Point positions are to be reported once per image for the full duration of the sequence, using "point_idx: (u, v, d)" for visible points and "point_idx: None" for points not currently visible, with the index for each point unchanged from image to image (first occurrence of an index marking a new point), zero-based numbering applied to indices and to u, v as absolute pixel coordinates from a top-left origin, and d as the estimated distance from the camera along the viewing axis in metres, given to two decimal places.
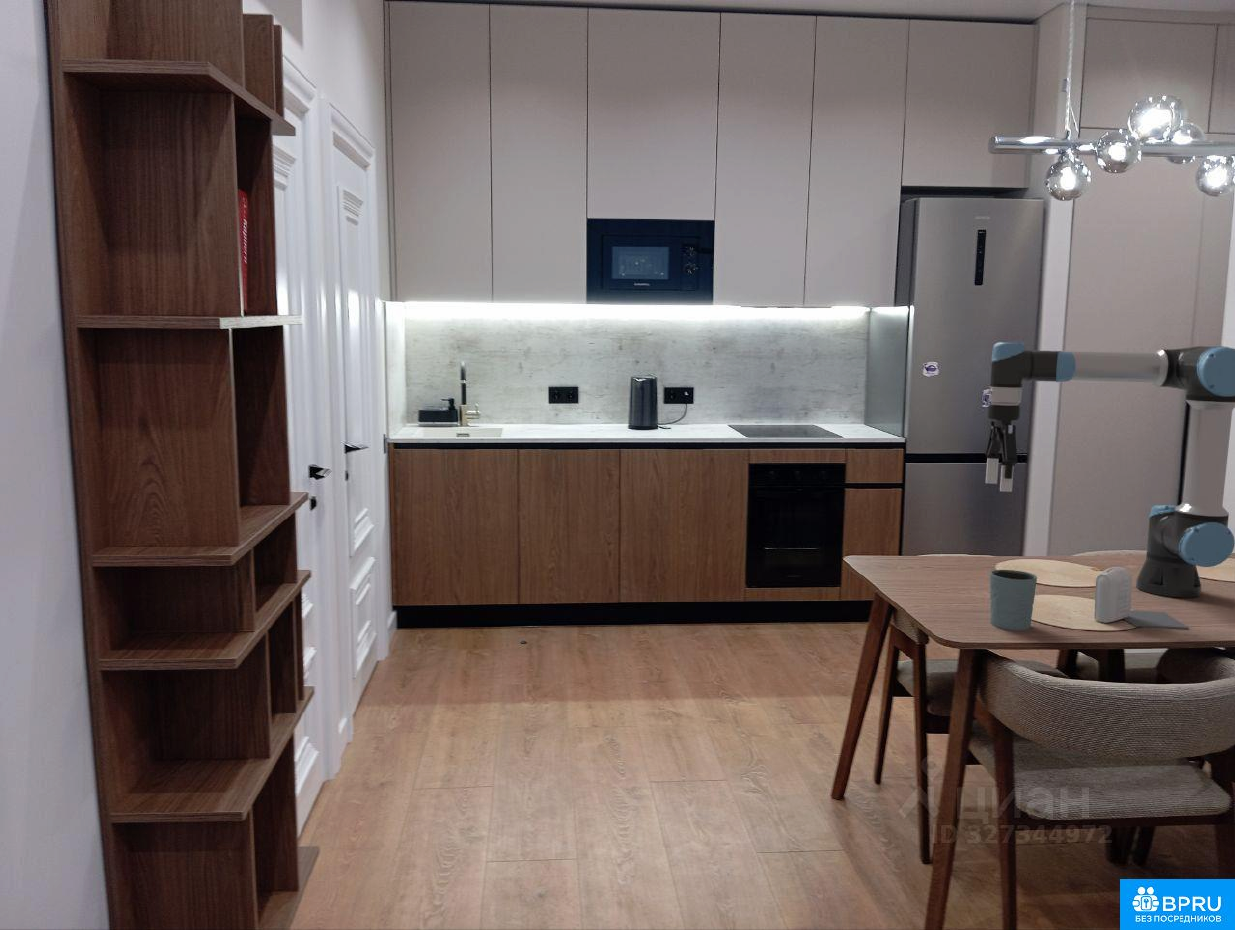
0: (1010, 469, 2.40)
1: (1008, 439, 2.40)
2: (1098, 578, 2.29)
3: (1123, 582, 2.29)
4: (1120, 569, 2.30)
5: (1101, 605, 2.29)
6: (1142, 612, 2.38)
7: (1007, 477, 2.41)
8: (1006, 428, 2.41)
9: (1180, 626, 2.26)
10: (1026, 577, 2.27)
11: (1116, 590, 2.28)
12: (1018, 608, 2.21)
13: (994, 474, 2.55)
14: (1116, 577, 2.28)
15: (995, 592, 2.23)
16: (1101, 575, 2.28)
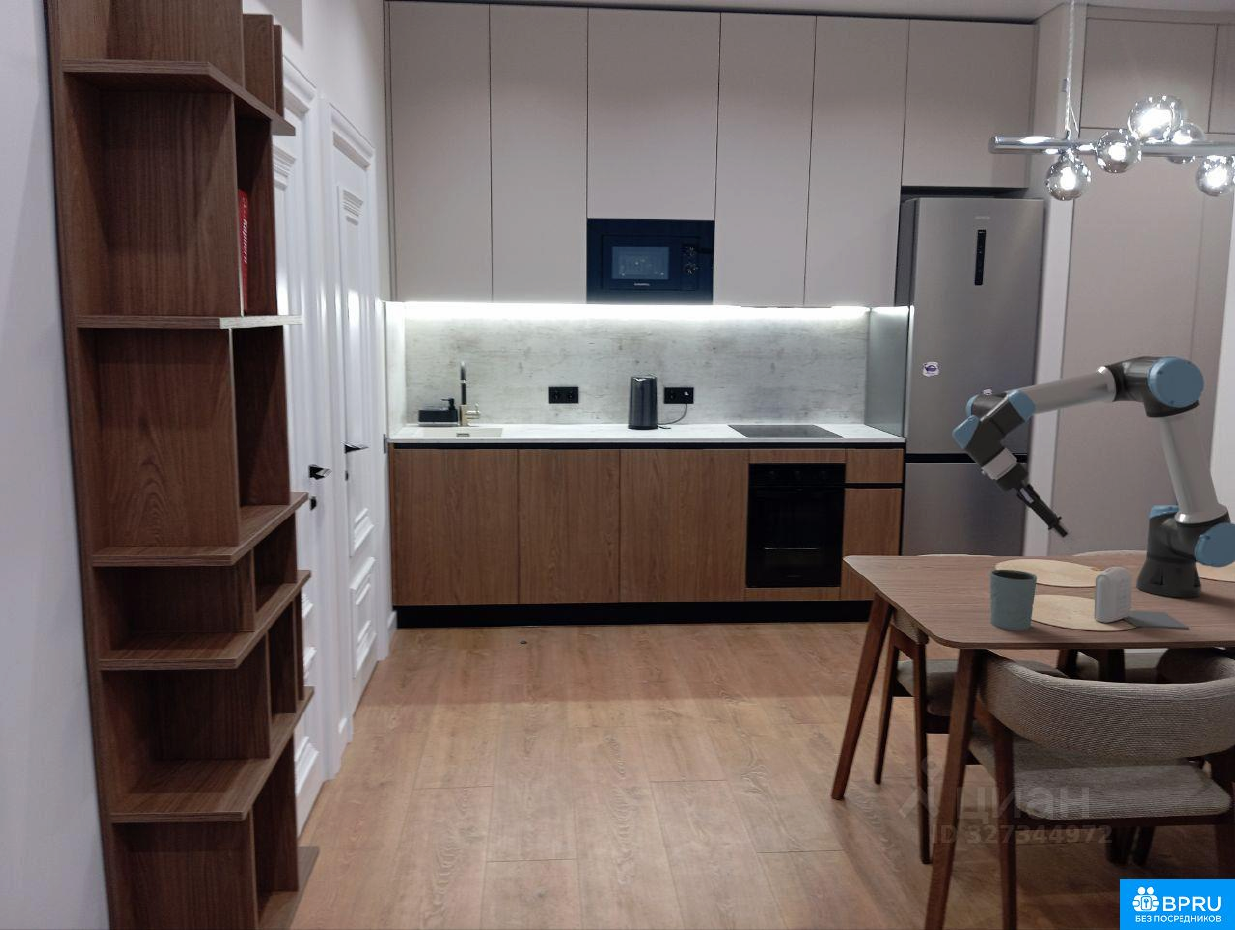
0: (1059, 527, 2.32)
1: (1036, 508, 2.31)
2: (1098, 578, 2.29)
3: (1122, 581, 2.29)
4: (1120, 569, 2.30)
5: (1101, 605, 2.29)
6: (1142, 612, 2.38)
7: (1063, 535, 2.32)
8: (1026, 502, 2.30)
9: (1180, 626, 2.26)
10: (1026, 577, 2.27)
11: (1116, 590, 2.28)
12: (1018, 608, 2.21)
13: None
14: (1116, 577, 2.28)
15: (995, 592, 2.23)
16: (1101, 575, 2.29)
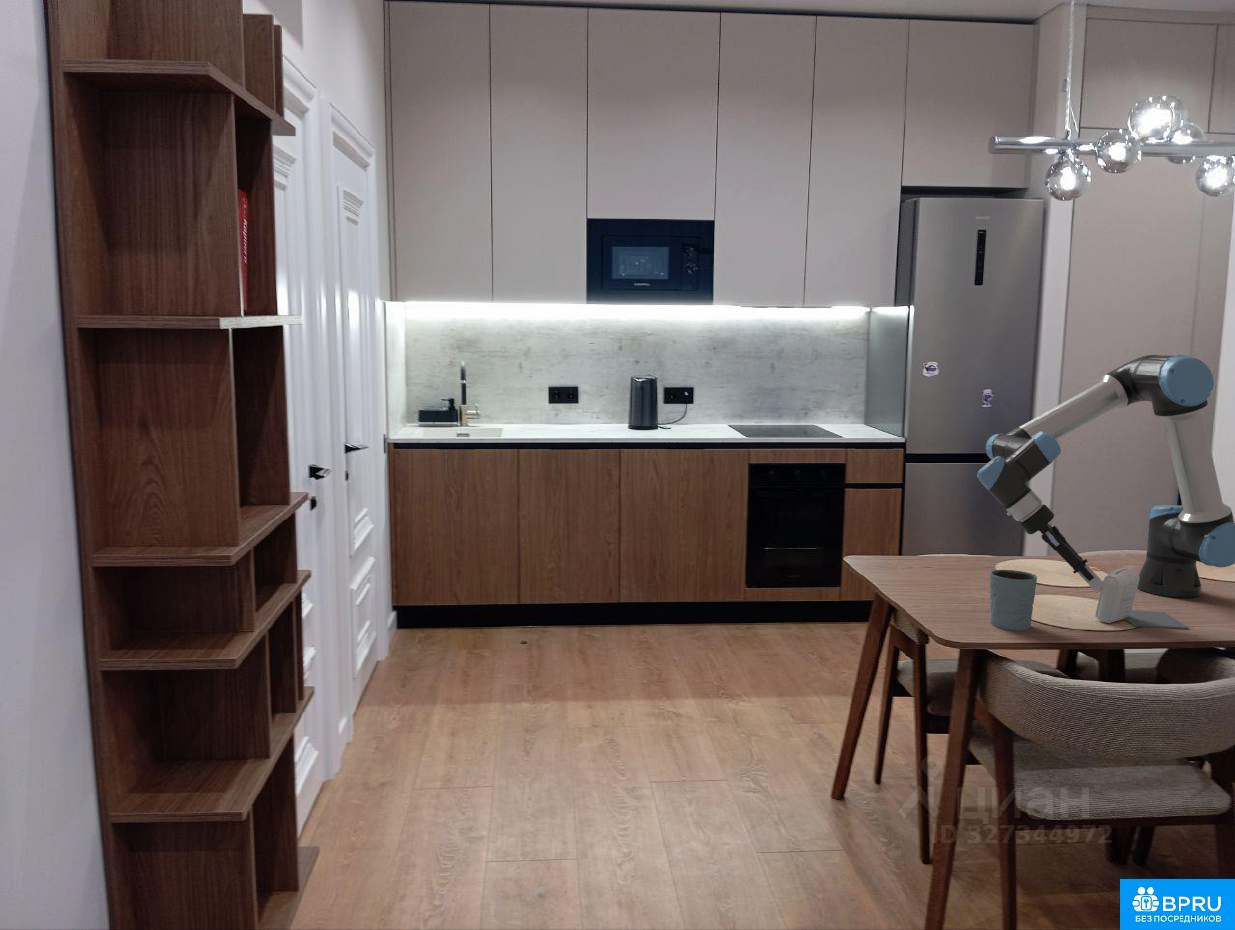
0: (1085, 571, 2.31)
1: (1061, 552, 2.29)
2: (1106, 579, 2.27)
3: (1130, 584, 2.28)
4: (1129, 571, 2.28)
5: (1104, 605, 2.28)
6: (1142, 612, 2.38)
7: (1089, 579, 2.31)
8: (1052, 545, 2.29)
9: (1180, 626, 2.26)
10: (1026, 577, 2.27)
11: (1122, 593, 2.27)
12: (1018, 608, 2.21)
13: None
14: (1125, 580, 2.26)
15: (995, 592, 2.23)
16: (1110, 577, 2.27)
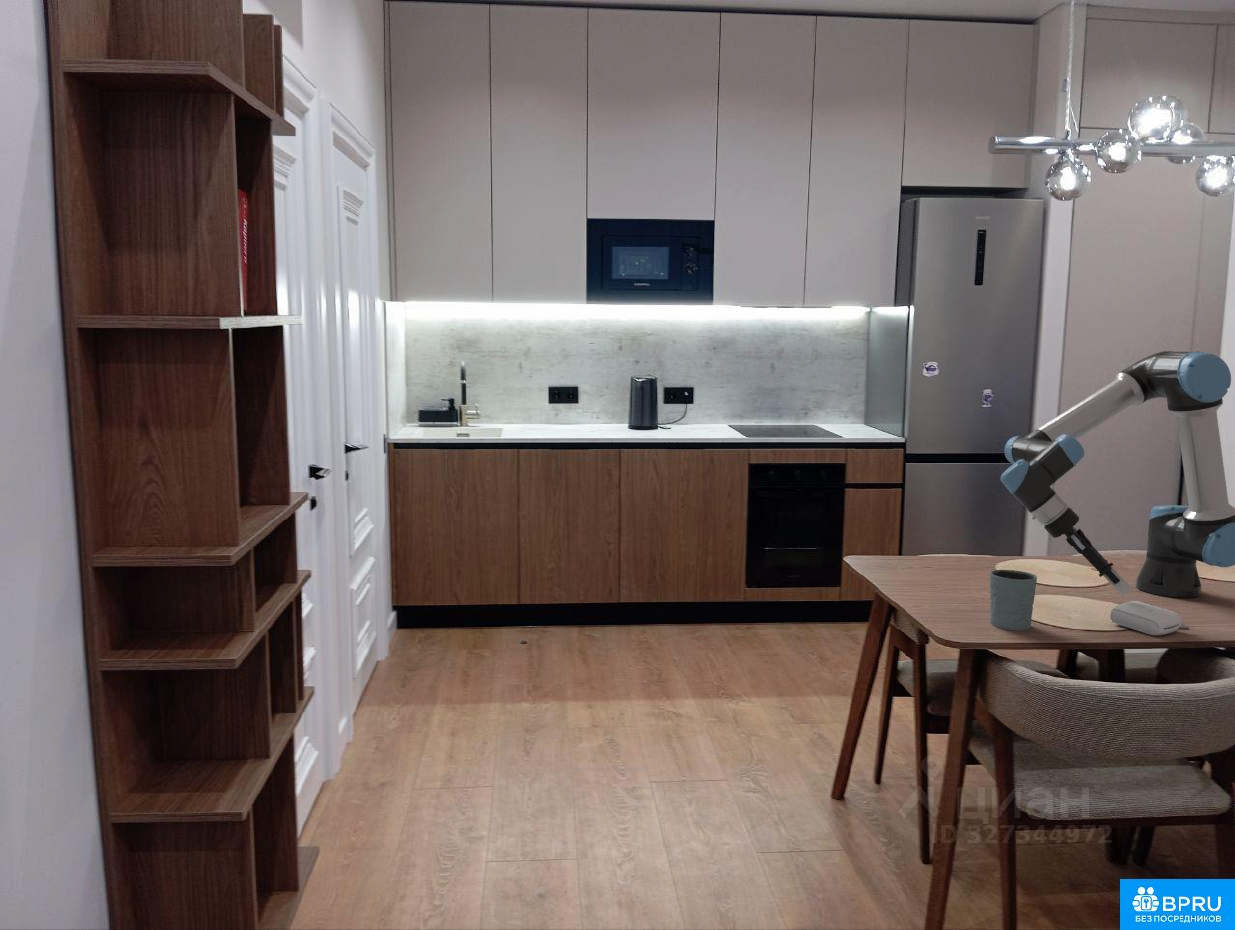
0: (1111, 574, 2.29)
1: (1087, 555, 2.28)
2: (1154, 623, 2.19)
3: None
4: (1174, 630, 2.20)
5: (1126, 620, 2.24)
6: None
7: (1115, 582, 2.29)
8: (1078, 549, 2.27)
9: (1180, 626, 2.26)
10: (1026, 577, 2.27)
11: None
12: (1018, 608, 2.21)
13: None
14: (1161, 634, 2.20)
15: (995, 592, 2.23)
16: (1157, 627, 2.18)
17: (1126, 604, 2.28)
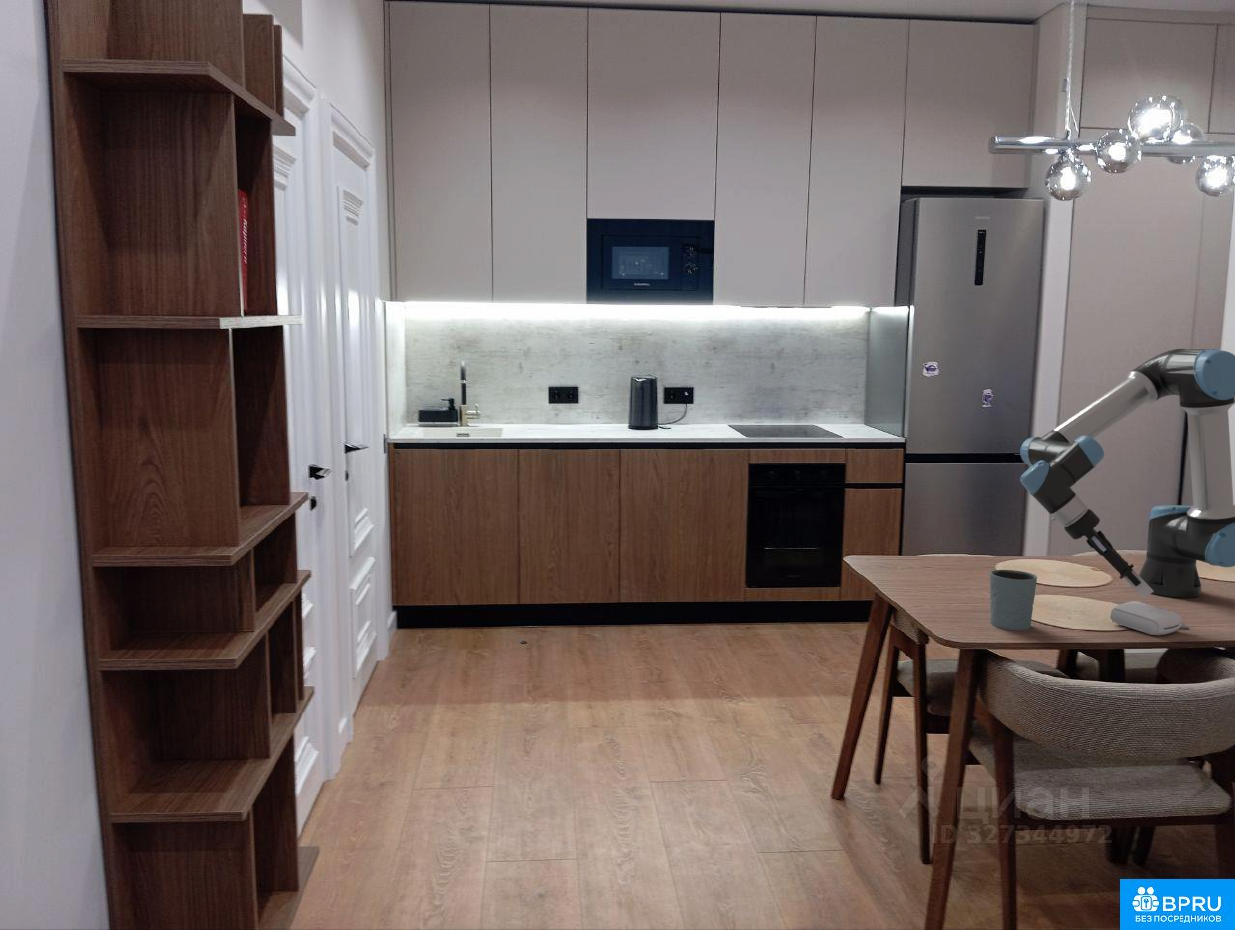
0: (1132, 576, 2.28)
1: (1108, 557, 2.26)
2: (1154, 622, 2.19)
3: None
4: (1174, 630, 2.20)
5: (1126, 620, 2.24)
6: None
7: (1136, 584, 2.28)
8: (1099, 551, 2.26)
9: None
10: (1026, 577, 2.27)
11: None
12: (1018, 608, 2.21)
13: None
14: (1161, 634, 2.20)
15: (995, 592, 2.23)
16: (1158, 627, 2.18)
17: (1126, 604, 2.28)
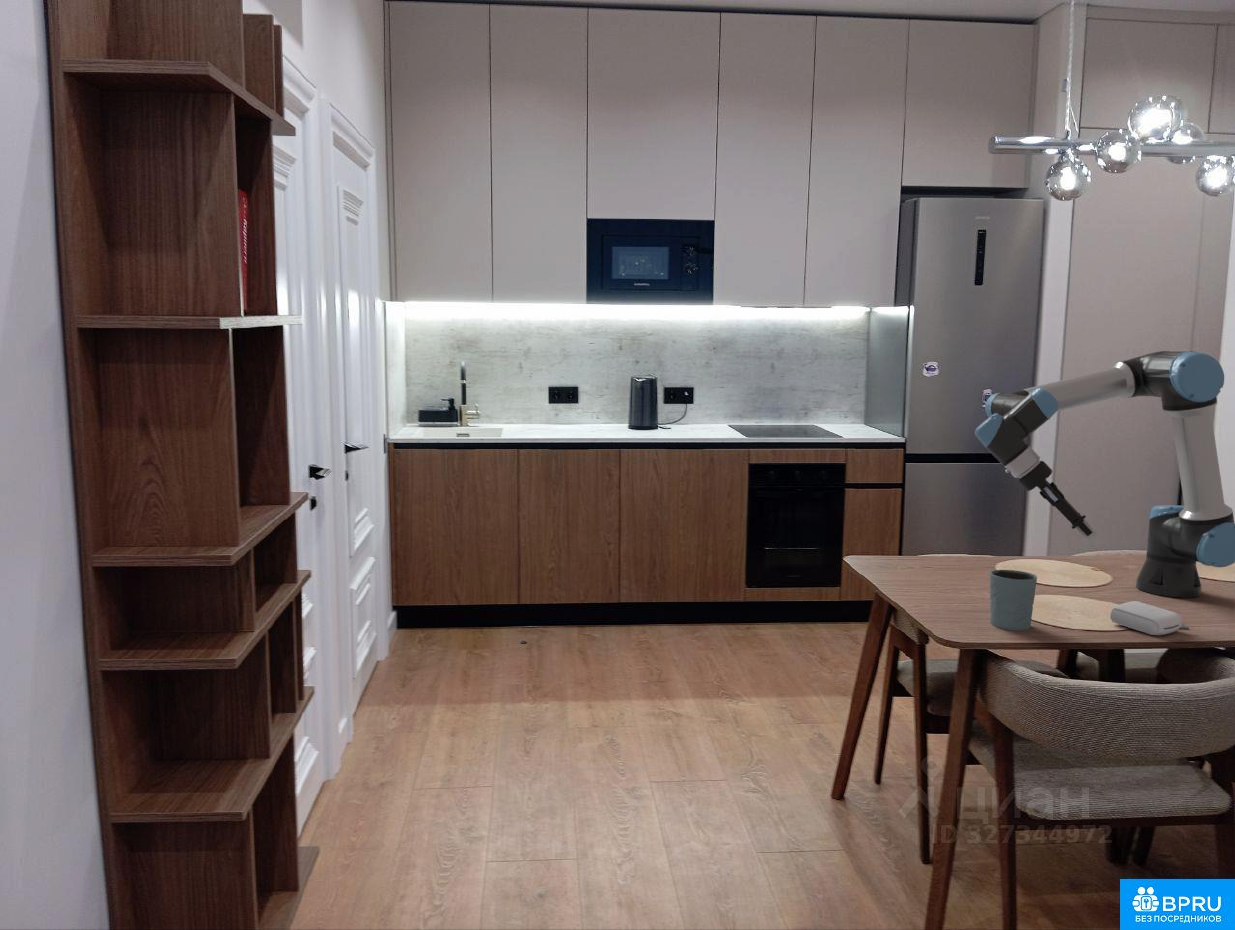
0: (1084, 526, 2.31)
1: (1060, 507, 2.30)
2: (1154, 622, 2.19)
3: None
4: (1174, 630, 2.20)
5: (1126, 620, 2.24)
6: None
7: (1088, 534, 2.31)
8: (1050, 501, 2.29)
9: None
10: (1026, 577, 2.27)
11: None
12: (1018, 608, 2.21)
13: None
14: (1161, 634, 2.20)
15: (995, 592, 2.23)
16: (1158, 627, 2.18)
17: (1126, 604, 2.28)
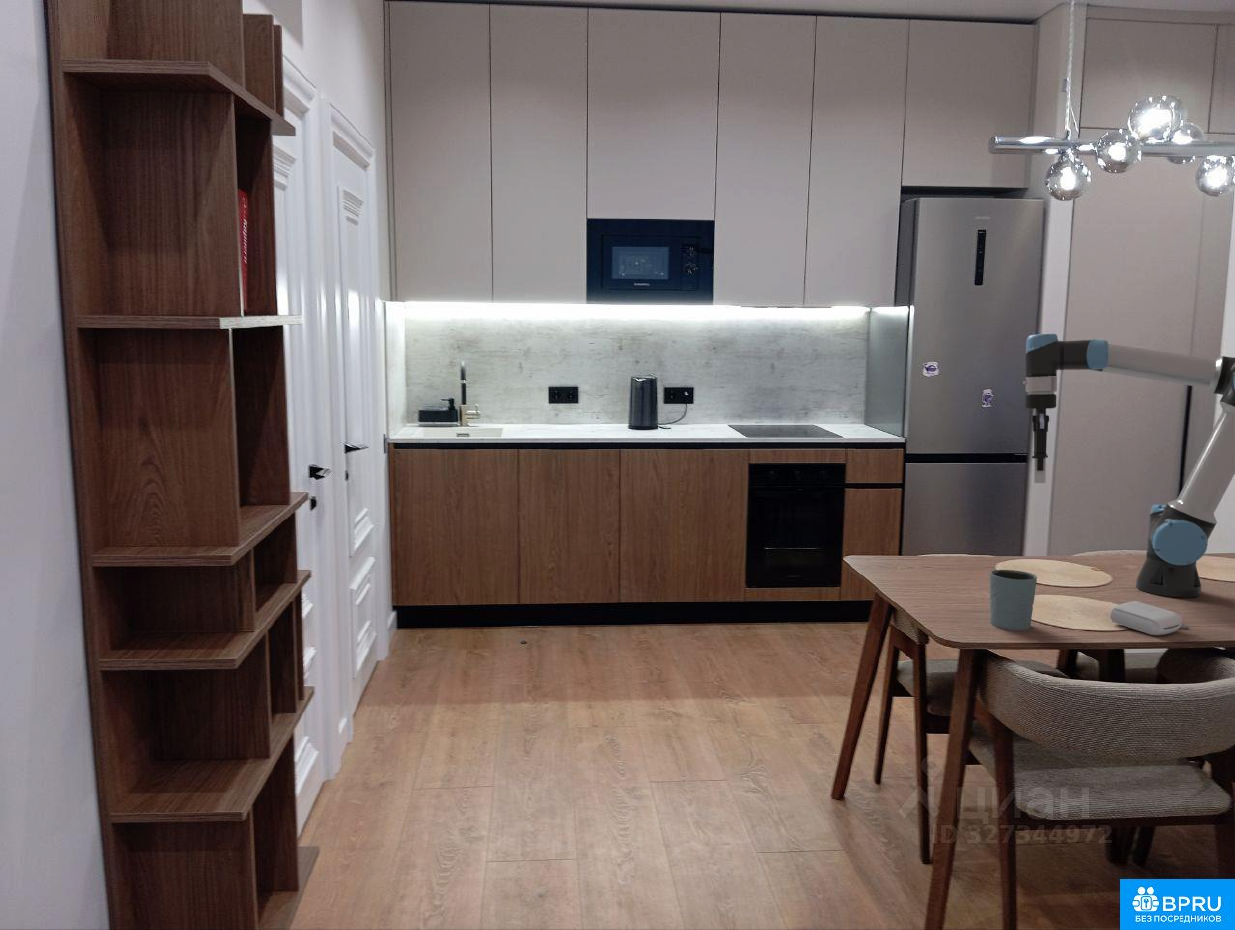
0: (1041, 462, 2.56)
1: (1039, 435, 2.53)
2: (1154, 622, 2.19)
3: None
4: (1174, 630, 2.20)
5: (1126, 620, 2.24)
6: None
7: (1039, 469, 2.57)
8: (1038, 425, 2.52)
9: None
10: (1026, 577, 2.27)
11: None
12: (1018, 608, 2.21)
13: None
14: (1161, 634, 2.20)
15: (995, 592, 2.23)
16: (1158, 627, 2.18)
17: (1126, 604, 2.28)
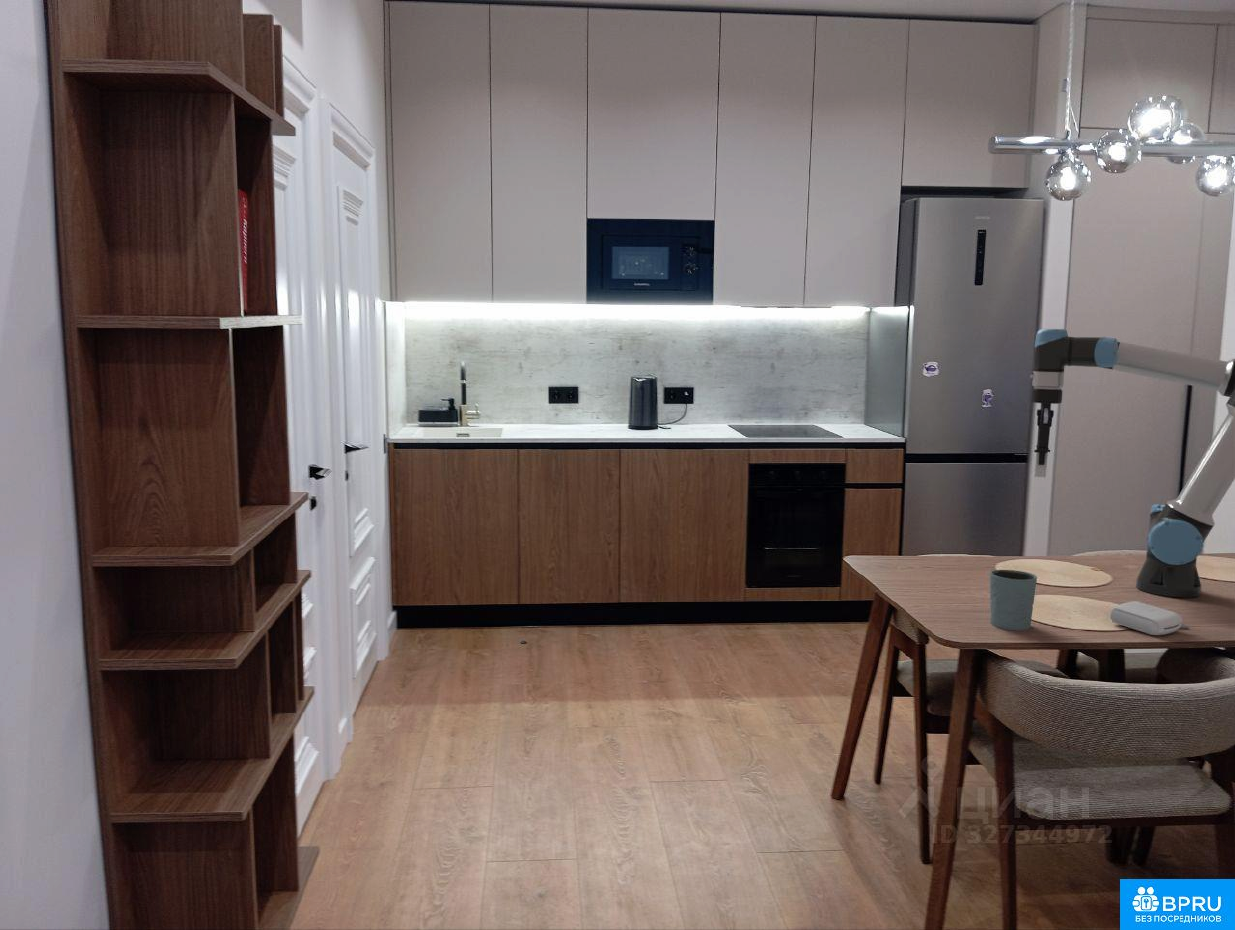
0: (1043, 456, 2.58)
1: (1042, 429, 2.55)
2: (1154, 622, 2.19)
3: None
4: (1174, 630, 2.20)
5: (1126, 620, 2.24)
6: None
7: (1040, 463, 2.59)
8: (1041, 420, 2.53)
9: None
10: (1026, 577, 2.27)
11: None
12: (1018, 608, 2.21)
13: None
14: (1161, 634, 2.20)
15: (995, 592, 2.23)
16: (1158, 627, 2.18)
17: (1126, 604, 2.28)
